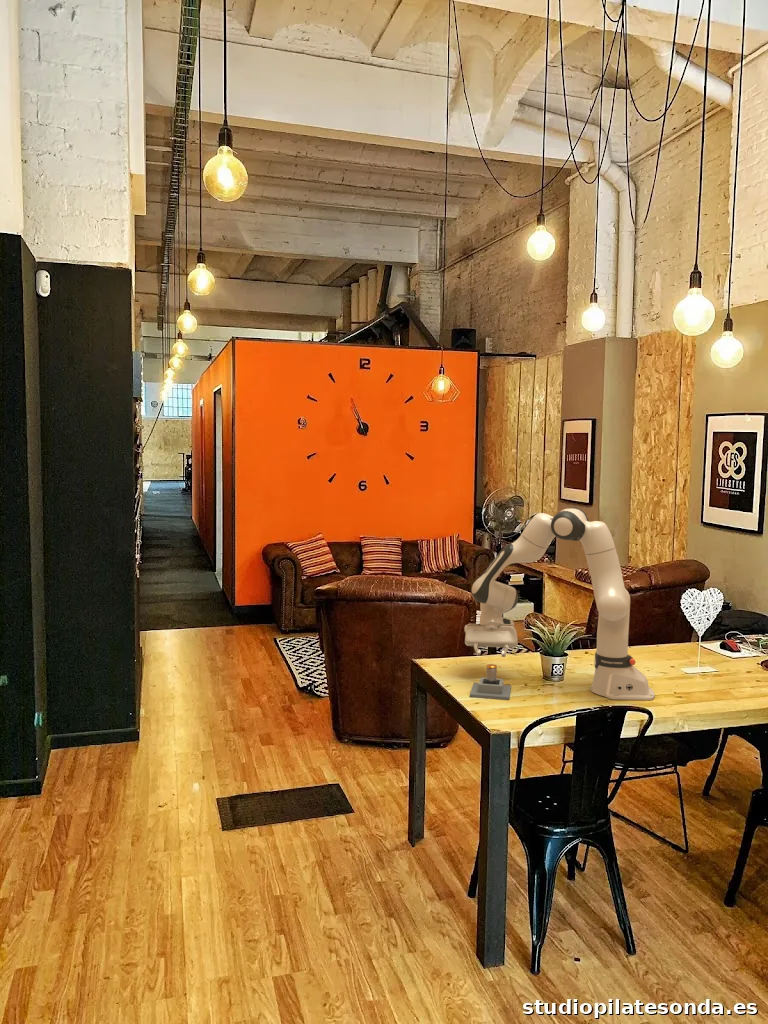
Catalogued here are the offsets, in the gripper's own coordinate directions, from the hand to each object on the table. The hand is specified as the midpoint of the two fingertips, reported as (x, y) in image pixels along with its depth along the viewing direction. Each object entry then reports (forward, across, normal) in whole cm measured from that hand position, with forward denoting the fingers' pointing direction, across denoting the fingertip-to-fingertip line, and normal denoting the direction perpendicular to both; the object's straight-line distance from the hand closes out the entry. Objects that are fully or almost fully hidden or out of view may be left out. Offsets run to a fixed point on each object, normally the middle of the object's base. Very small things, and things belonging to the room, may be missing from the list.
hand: (491, 655), depth 294 cm
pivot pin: (+15, 0, -2) cm, 15 cm away
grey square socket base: (+16, 0, -1) cm, 16 cm away
